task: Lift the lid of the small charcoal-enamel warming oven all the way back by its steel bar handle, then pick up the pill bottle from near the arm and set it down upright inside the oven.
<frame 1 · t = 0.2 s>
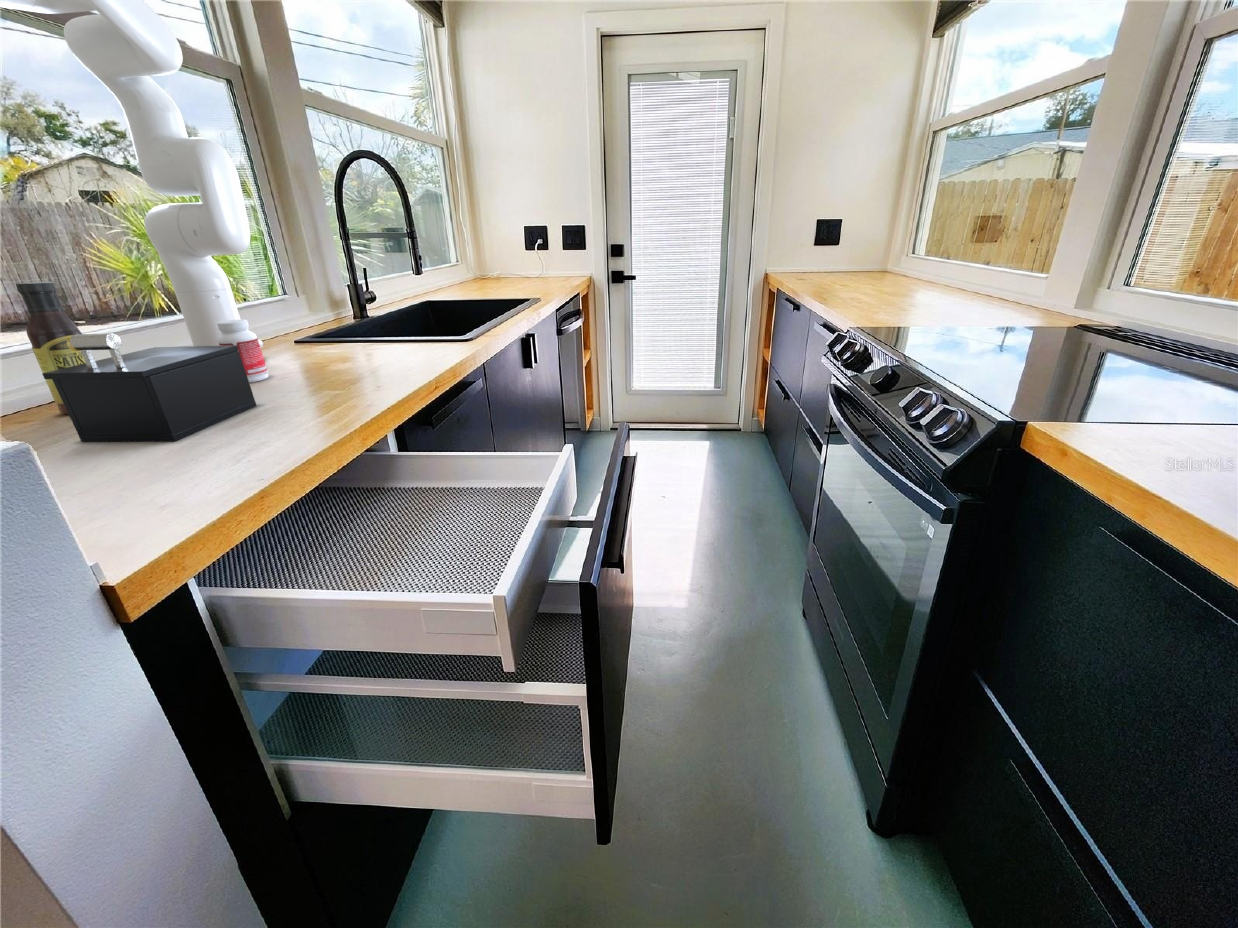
warming oven: (176, 422, 79), on the counter
oven lid: (143, 345, 74), point 12 cm above the counter, hinge at 0.0°
pill bottle: (251, 380, 103), on the counter
sauce bottle: (88, 410, 88), on the counter
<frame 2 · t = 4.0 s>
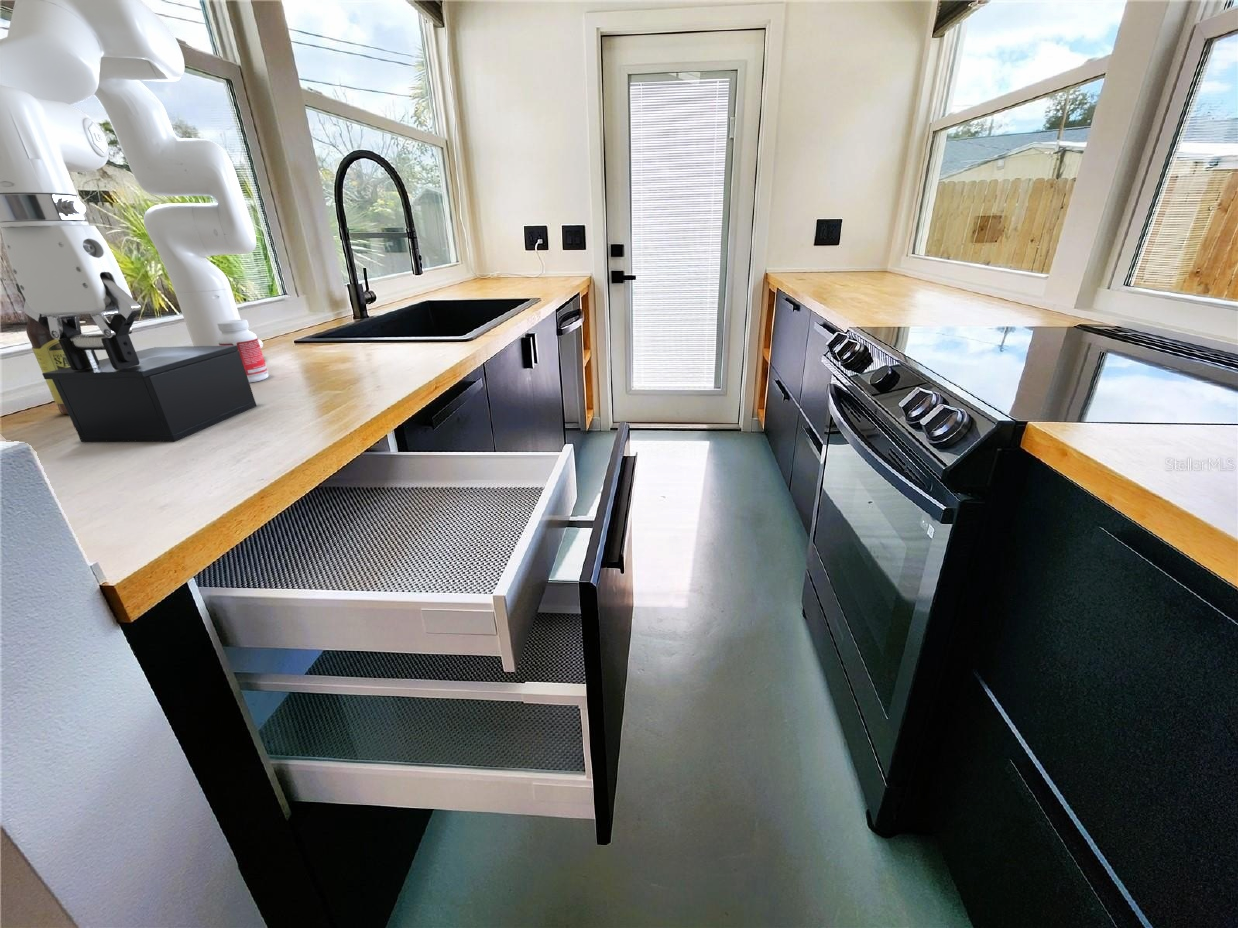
hand: (106, 366, 69), 10 cm above the counter, tool pointing down, fingers closed on oven lid, 5 cm apart
oven lid: (143, 345, 74), point 12 cm above the counter, hinge at 0.0°, touching gripper
everything else where it was.
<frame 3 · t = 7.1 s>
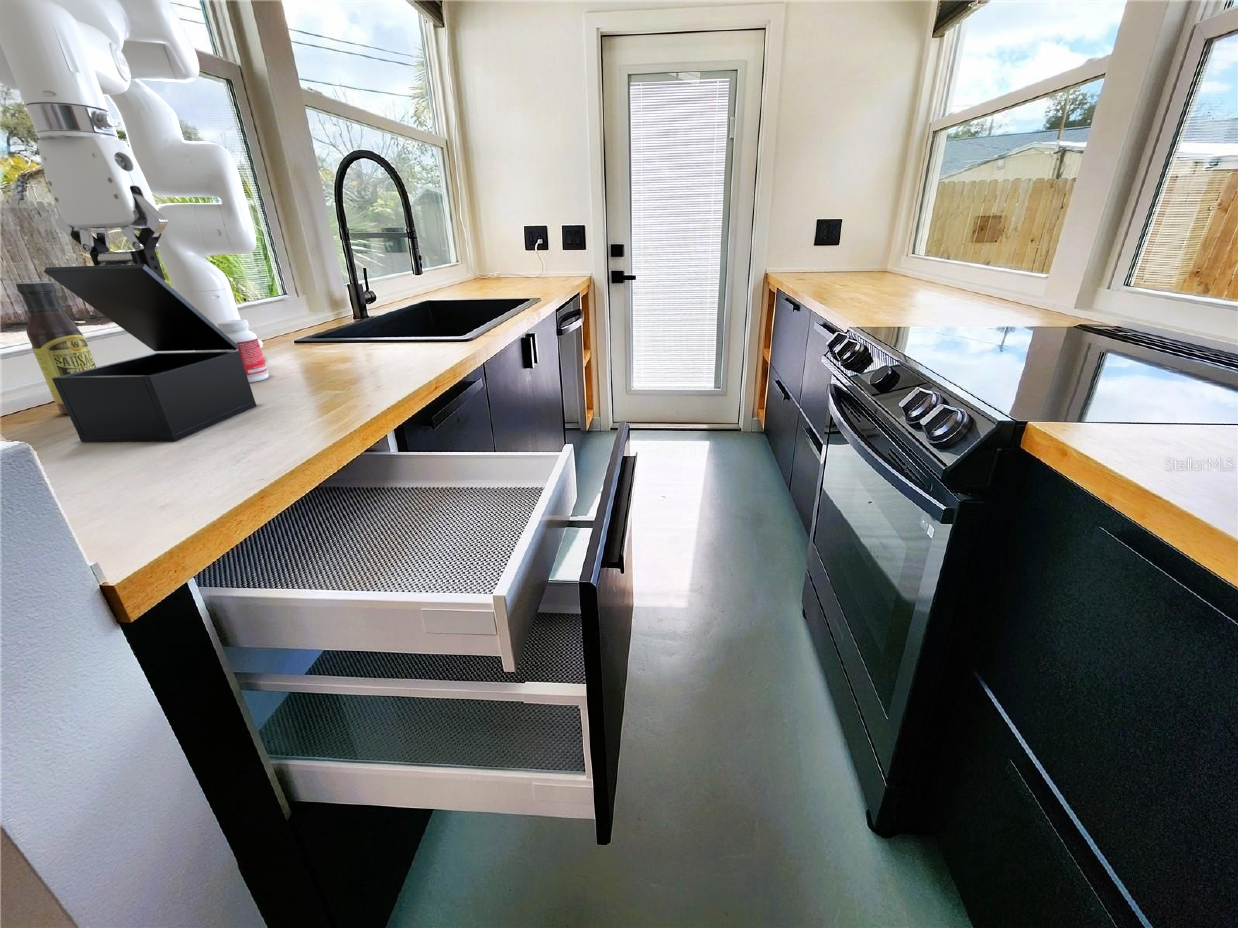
hand: (133, 281, 73), 20 cm above the counter, tool pointing down, fingers closed on oven lid, 5 cm apart
oven lid: (156, 300, 76), point 17 cm above the counter, hinge at 49.0°, touching gripper
everything else where it was.
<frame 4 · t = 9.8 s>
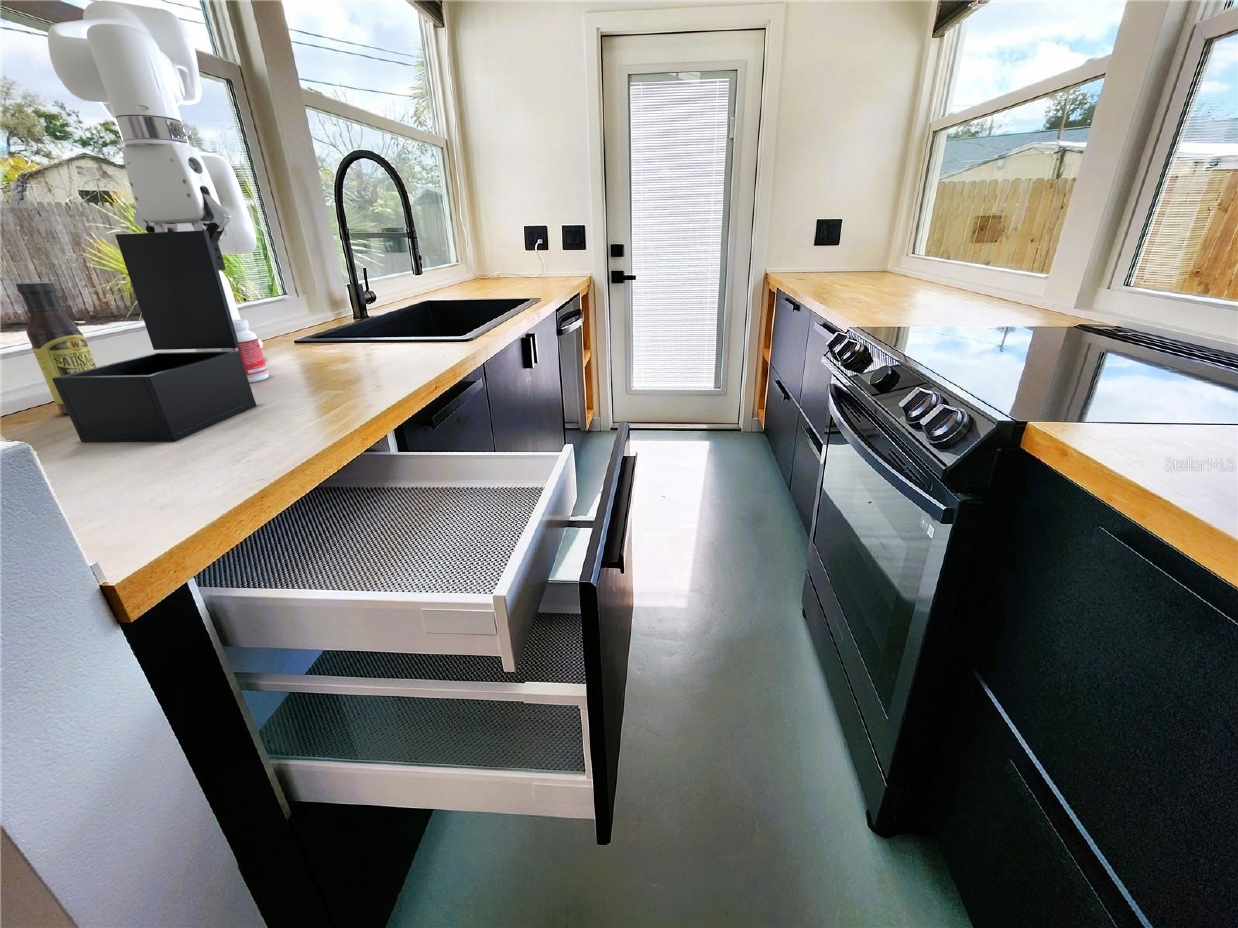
hand: (199, 270, 83), 21 cm above the counter, tool pointing down, fingers closed on oven lid, 5 cm apart
oven lid: (191, 292, 82), point 18 cm above the counter, hinge at 93.1°, touching gripper
everything else where it was.
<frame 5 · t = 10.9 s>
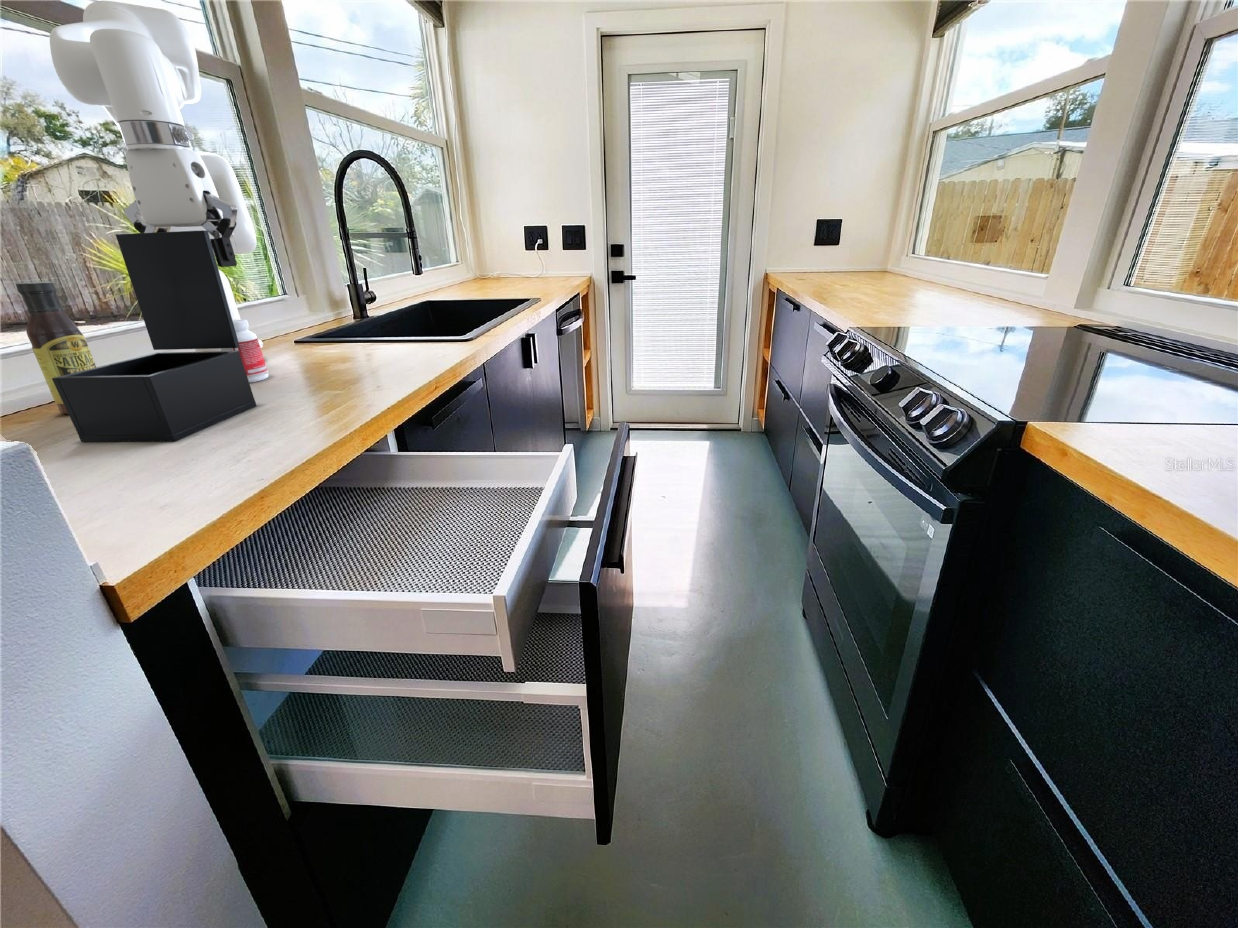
hand: (199, 267, 83), 21 cm above the counter, tool pointing down, fingers open, 9 cm apart
oven lid: (191, 292, 82), point 18 cm above the counter, hinge at 93.3°
everything else where it was.
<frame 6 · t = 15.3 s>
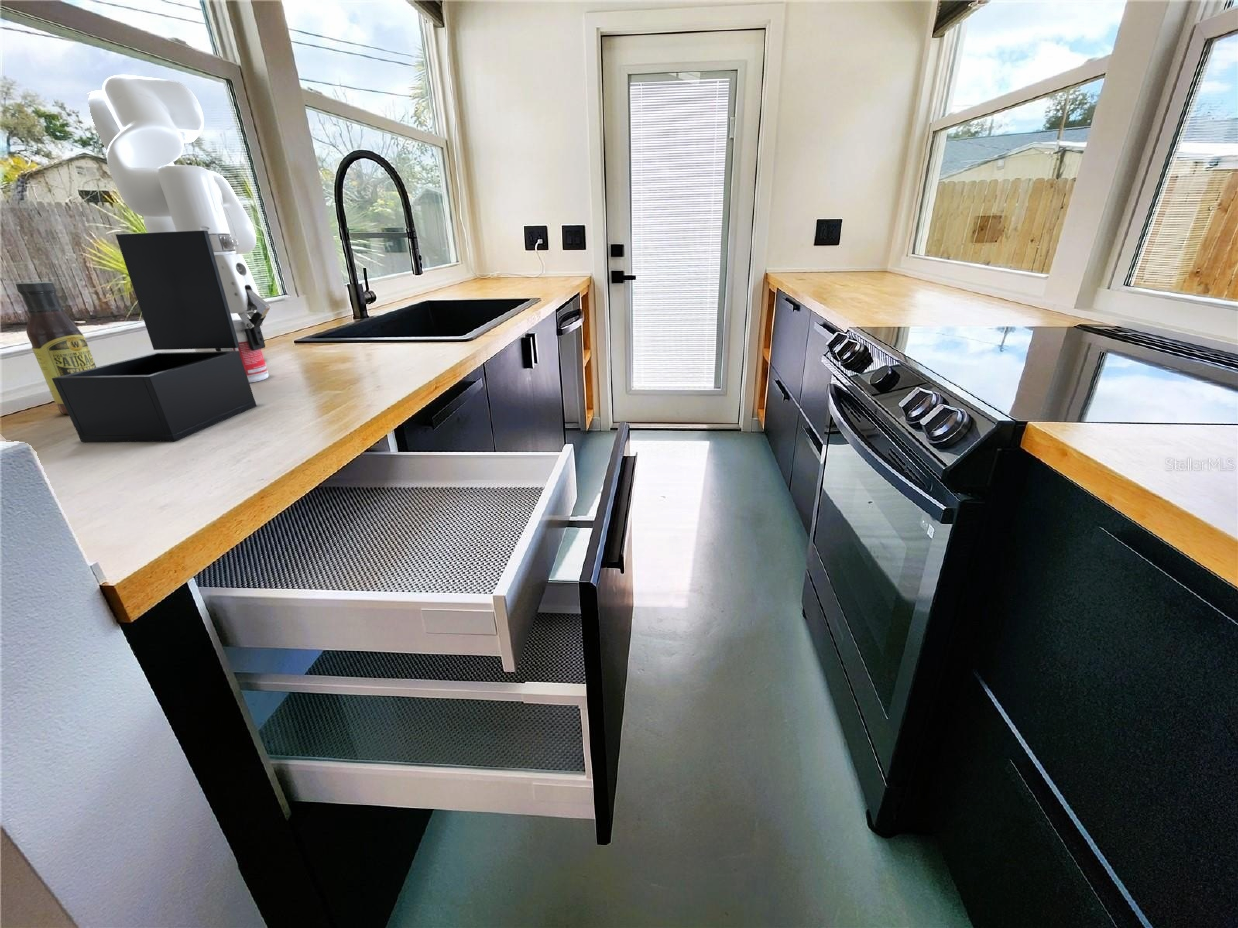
hand: (241, 348, 100), 6 cm above the counter, tool pointing down, fingers closed on pill bottle, 6 cm apart
pill bottle: (251, 380, 103), on the counter, touching gripper
everything else where it was.
when the fingers open (7 cm above the counter, at t = 27.0 s): pill bottle stays where it is, resting on warming oven.
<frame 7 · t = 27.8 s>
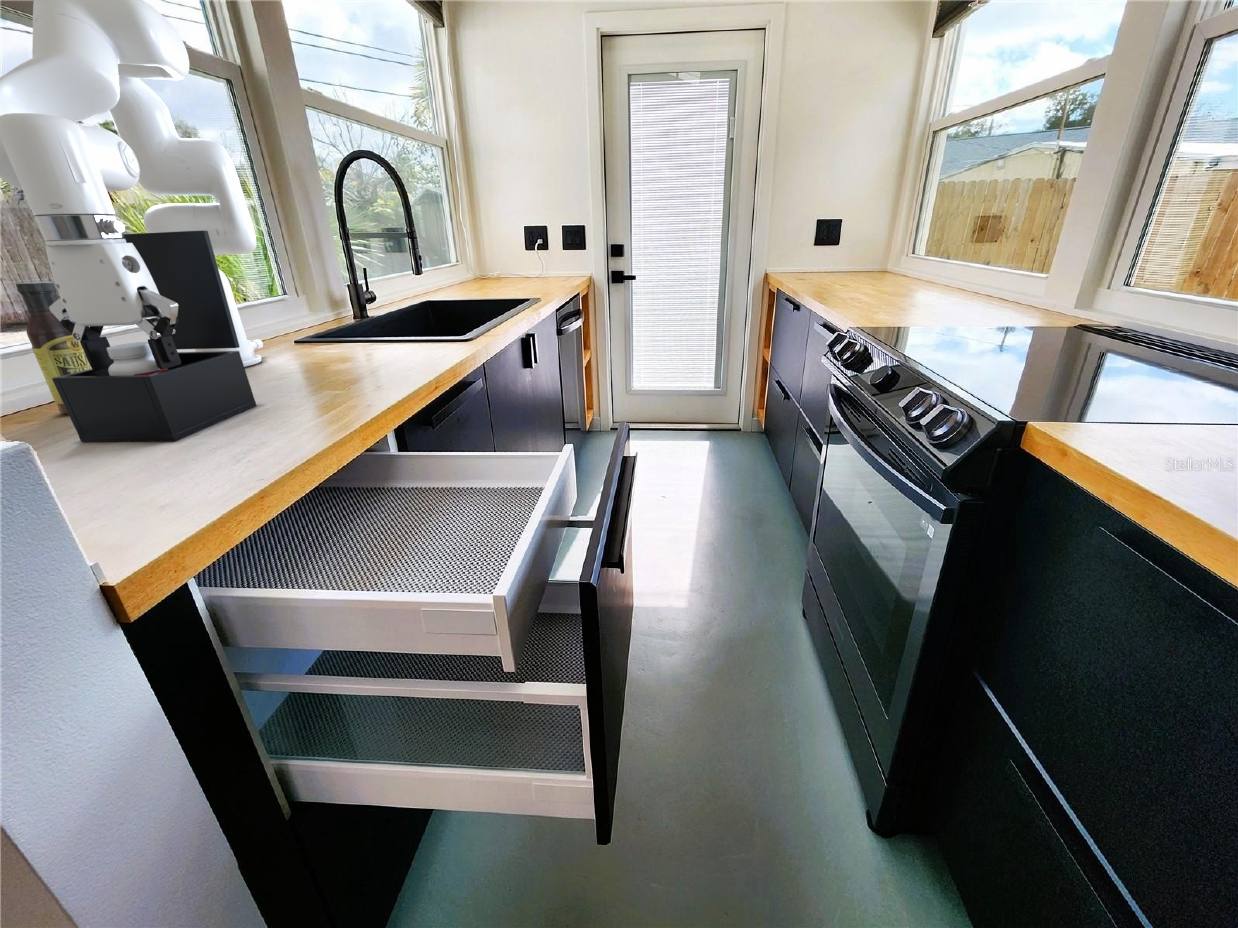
hand: (137, 367, 74), 9 cm above the counter, tool pointing down, fingers open, 9 cm apart
pill bottle: (160, 423, 77), point 1 cm above the counter, touching warming oven
everything else where it was.
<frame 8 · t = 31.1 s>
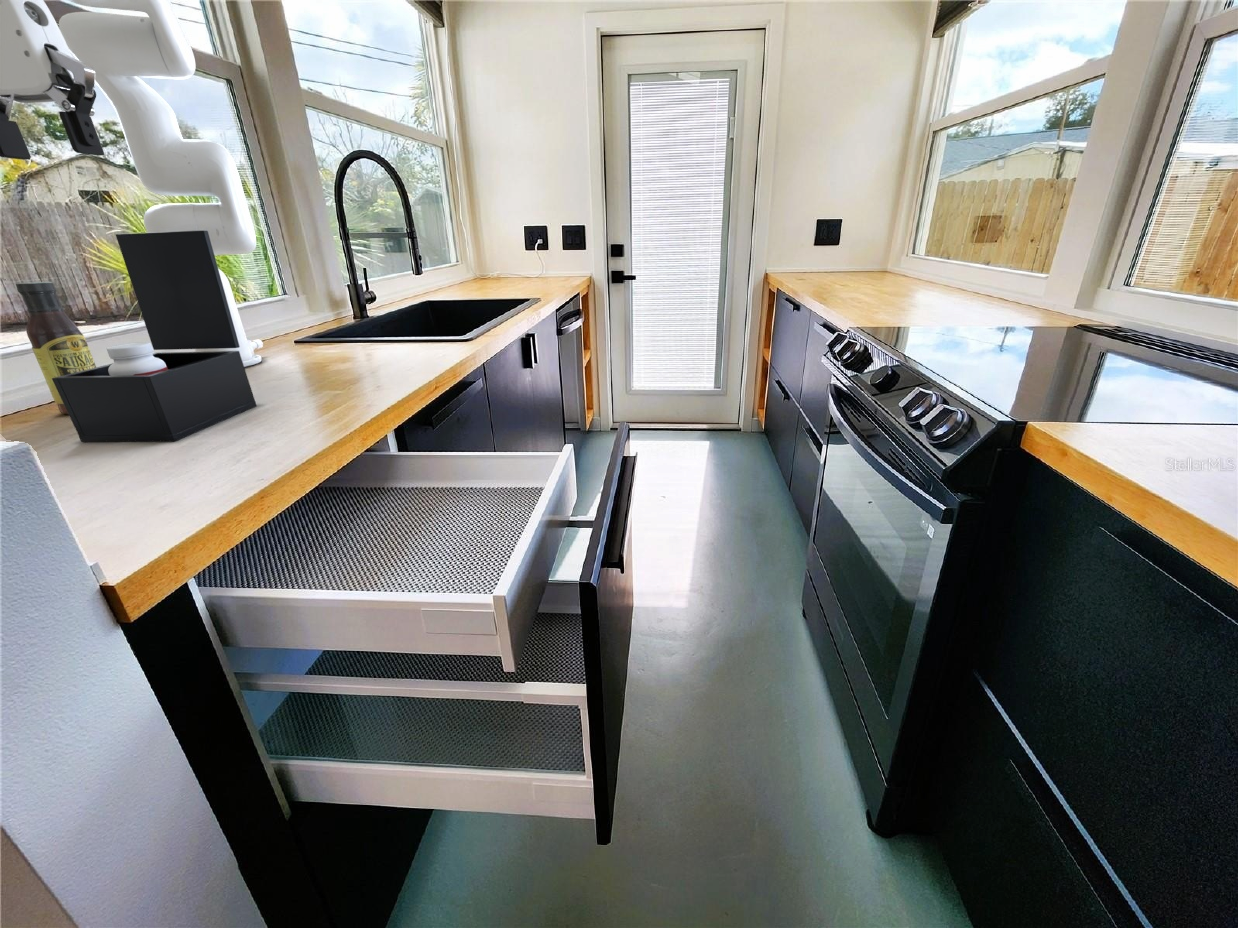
hand: (52, 156, 63), 34 cm above the counter, tool pointing down, fingers open, 9 cm apart
nothing on the counter moved.
at the end: oven lid at +93° (first picture: +0°); pill bottle inside the target area in the warming oven (2.4 cm from its centre), point 0.7 cm above the warming oven's base; pill bottle tilted 0° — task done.
